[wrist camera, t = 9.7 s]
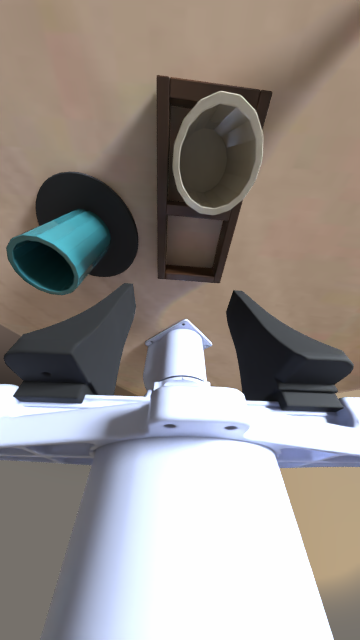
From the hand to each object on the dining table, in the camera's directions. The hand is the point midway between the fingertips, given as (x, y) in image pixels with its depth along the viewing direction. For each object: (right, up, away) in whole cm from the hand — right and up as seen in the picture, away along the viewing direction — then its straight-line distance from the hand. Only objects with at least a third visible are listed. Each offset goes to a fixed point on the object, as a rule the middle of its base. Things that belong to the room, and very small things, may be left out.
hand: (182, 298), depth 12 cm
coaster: (-10, +8, +6) cm, 14 cm away
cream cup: (+2, +12, +2) cm, 12 cm away
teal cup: (-10, +8, +6) cm, 14 cm away
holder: (+1, +10, +4) cm, 10 cm away
